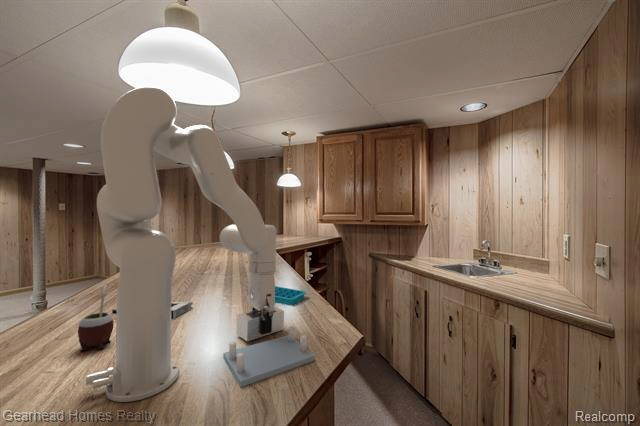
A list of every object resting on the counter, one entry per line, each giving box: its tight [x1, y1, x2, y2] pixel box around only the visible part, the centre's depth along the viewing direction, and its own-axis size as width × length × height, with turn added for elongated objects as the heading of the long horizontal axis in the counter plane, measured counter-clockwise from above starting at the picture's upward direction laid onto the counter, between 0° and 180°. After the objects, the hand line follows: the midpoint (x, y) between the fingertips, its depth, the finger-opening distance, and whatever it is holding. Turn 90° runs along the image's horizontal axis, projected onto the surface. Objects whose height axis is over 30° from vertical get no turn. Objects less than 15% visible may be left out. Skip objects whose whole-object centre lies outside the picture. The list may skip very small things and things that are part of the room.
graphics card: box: [111, 301, 194, 320], centre depth 95 cm, size 10×3×25 cm
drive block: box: [236, 306, 285, 342], centre depth 78 cm, size 12×6×6 cm, turn 134°
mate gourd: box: [77, 283, 114, 354], centre depth 70 cm, size 8×8×15 cm
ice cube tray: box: [275, 285, 307, 306], centre depth 111 cm, size 12×20×3 cm, turn 62°
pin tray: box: [222, 325, 316, 388], centre depth 65 cm, size 18×13×5 cm
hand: (260, 328), depth 78 cm, fingers closed on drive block, 6 cm apart
